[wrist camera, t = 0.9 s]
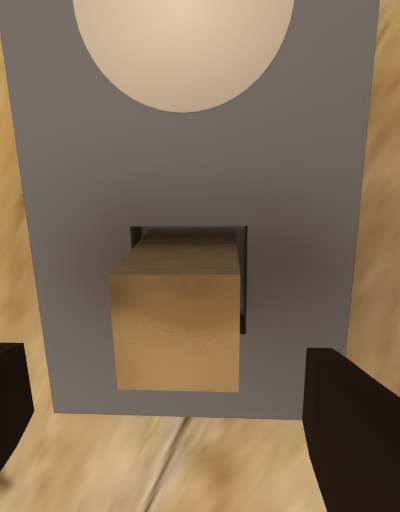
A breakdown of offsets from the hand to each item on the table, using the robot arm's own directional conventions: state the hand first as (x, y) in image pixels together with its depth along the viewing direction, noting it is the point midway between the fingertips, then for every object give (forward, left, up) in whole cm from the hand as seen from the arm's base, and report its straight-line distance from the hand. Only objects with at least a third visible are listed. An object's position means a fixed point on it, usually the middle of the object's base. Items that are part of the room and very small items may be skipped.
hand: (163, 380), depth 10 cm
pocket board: (0, -5, -10) cm, 11 cm away
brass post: (0, 0, -9) cm, 9 cm away
